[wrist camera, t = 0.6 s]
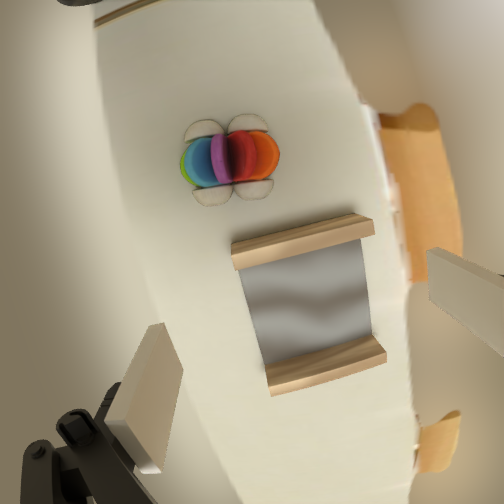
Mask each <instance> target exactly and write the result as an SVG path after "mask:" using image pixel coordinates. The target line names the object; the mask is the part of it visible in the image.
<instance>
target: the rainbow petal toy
mask: <svg viewBox="0 0 504 504" xmlns="http://www.w3.org/2000/svg"><path fill="white" fill-rule="evenodd" d="M266 132H268V127H267V124H266V123H265V121H264V120H263V119H262V118H260V117H259V116H257V115H254V114H245V115H240V116H237V117H236V118H234V119H233V120H232V121H231V123H230V124H229V127H228V130H227V134H228V135H229V136H228V137H226V136H225V132H224V130H223V129H222V127H221V126H220V125H219V124H218V123H216V122H214V121H211V120H204V121H198V122H195V123H193V124H192V125H191V126H190V127H189V128H188V130H187V131H186V134H185V138H184V142H185V143H189V144H191V145H190V146H189V147H188V149H187V150H186V151H185V152H184V154H183V156H182V158H181V161H180V168H181V173H182V175H183V176H184V178H185V179H186V180H187V181H188V182H190V183H191V184H193V185H195V186H197V187H202V188H201V189H196V190H193V195H194V197H195V199H196V200H197V201H198V202H199V203H200V204H202V205H204V206H215V205H221V204H224V203H226V202H227V201H228V199H229V198H230V197H231V195H232V192H233V189H234V190H235V192H236V193H237V194H238V196H240V197H241V198H242V199H244V200H257V199H263V198H265V197H267V196H268V195H269V193H270V192H271V190H272V188H273V184H274V181H273V179H267V180H265V179H263V178H266V177H267V176H269V175H270V174H271V173H272V172H273V171H274V170H275V168H276V166H277V164H278V161H279V156H280V152H279V148H278V146H277V144H276V142H275V141H274V140H273V139H272V138H271V137H270V136H269V135H267V134H265V133H266ZM233 181H235V182H236V181H237V182H236V183H235V184H229V183H231V182H233Z"/></svg>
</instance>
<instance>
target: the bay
mask: <svg viewBox="0 0 504 504" xmlns="http://www.w3.org/2000/svg"><path fill="white" fill-rule="evenodd" d="M371 235H375V231H374V224H373V219H370V218H367V217H364V216H361V215H358V214H355V213H354V214H349V215H345V216H341V217H337V218H333V219H329V220H325V221H321V222H317V223H313V224H309V225H305V226H301V227H297V228H293V229H289V230H285V231H281V232H277V233H273V234H269V235H265V236H261V237H257V238H253V239H249V240H245V241H241V242H237V243H233V244H231V257H232V261H233V264H234V268H235V271H236V270H238V271H239V275H240V278H241V282H242V286H243V289H244V293H245V296H246V300H247V304H248V307H249V311H250V314H251V318H252V322H253V325H254V329H255V332H256V336H257V339H258V343H259V347H260V350H261V354H262V357H263V361H264V364H265V370H266V376H267V382H268V388H269V391H270V394H271V397H272V396H276V395H280V394H285V393H289V392H293V391H296V390H300V389H304V388H308V387H311V386H315V385H318V384H322V383H325V382H329V381H332V380H335V379H339V378H342V377H345V376H348V375H351V374H354V373H357V372H360V371H363V370H366V369H369V368H372V367H375V366H378V365H381V364H383V363H386V362H387V354H386V351H385V350H384V348H383V347H382V346H381V345H380V344H379V342H378V341H377V340H376V339H375V337H374V336H373V335H372V329H371V318H370V308H369V299H368V290H367V282H366V275H365V267H364V260H363V253H362V247H361V240H360V238H363V237H367V236H371Z"/></svg>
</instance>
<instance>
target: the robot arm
mask: <svg viewBox="0 0 504 504" xmlns="http://www.w3.org/2000/svg"><path fill="white" fill-rule="evenodd" d="M57 1H58V2H60V3H62V4H64V5H67V6H84V5H89V4H92V3H96V2H98V1H101V0H57ZM426 253H427V267H428V285H429V300H430V301H431V302H432V303H434V304H435V305H436V306H438V307H440V309H442V310H443V311H444V312H446V313H447V314H449V315H450V316H451V317H452V318H454V319H455V320H457V321H458V322H459V323H460V324H462V325H463V326H465V327H466V328H467V329H468V330H470V331H471V332H472V333H473V334H475V335H476V336H477V337H478V338H480V339H481V340H482V341H484V342H485V343H486V344H487V345H489V346H490V347H491V348H492V349H494V350H495V351H496V352H497V353H499V354H500V355H501V356H502V357H503V358H504V275H499V274H496V273H494V272H492V271H490V270H488V269H486V268H483V267H481V266H479V265H477V264H475V263H473V262H471V261H468V260H466V259H464V258H462V257H460V256H457V255H455V254H453V253H451V252H448V251H446V250H444V249H441V248H439V247H436V248H433V249H430V250H427V251H426ZM182 374H183V367H182V365H181V363H180V360H179V358H178V356H177V353H176V351H175V349H174V346H173V344H172V341H171V339H170V337H169V334H168V332H167V329H166V327H165V324H164V323H160V324H155V325H151V326H149V327H148V329H147V331H146V333H145V335H144V337H143V339H142V341H141V343H140V345H139V347H138V349H137V351H136V353H135V355H134V358H133V359H132V362H131V364H130V366H129V368H128V370H127V372H126V374H125V376H124V378H123V380H122V382H117V383H115V384H114V385H113V386H112V387H111V388H110V389H109V390H108V392H107V394H106V395H105V398H104V401H103V402H102V403H101V405H100V406H101V407H99V410H98V412H97V414H96V416H95V418H94V420H93V419H92V417H91V415H90V414H89V412H88V411H86V410H85V409H74V410H72V411H69V412H67V413H66V414H64V415H63V416H62V417H61V418H60V419H59V420H58V422H57V424H56V430H57V432H58V433H59V435H60V436H61V437H62V438H63V440H64V441H65V442H66V444H67V445H68V446H65V447H60V448H56V449H55V448H54V447H53V445H52V444H51V443H50V442H49V441H48V440H44V439H43V440H37V441H35V442H33V443H31V444H30V445H29V446H28V447H27V449H26V450H25V452H24V455H23V466H22V478H21V496H20V504H94V503H93V498H94V499H95V501H96V503H97V504H158V503H157V502H156V501H155V499H154V498H153V497H152V496H151V495H150V493H149V492H148V491H147V490H146V488H145V487H144V486H143V485H142V483H141V482H140V481H139V480H138V478H137V477H136V476H135V475H134V473H133V470H134V466H135V465H136V466H137V467H138V468H139V470H140V471H141V472H142V473H143V474H151V473H162V471H163V466H164V461H165V455H166V451H167V446H168V440H169V435H170V431H171V425H172V421H173V416H174V411H175V407H176V402H177V397H178V393H179V388H180V383H181V379H182ZM92 496H93V498H92Z"/></svg>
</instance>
